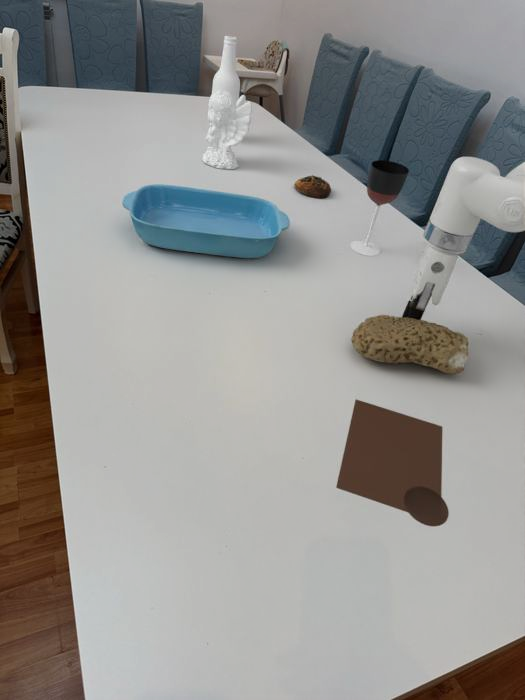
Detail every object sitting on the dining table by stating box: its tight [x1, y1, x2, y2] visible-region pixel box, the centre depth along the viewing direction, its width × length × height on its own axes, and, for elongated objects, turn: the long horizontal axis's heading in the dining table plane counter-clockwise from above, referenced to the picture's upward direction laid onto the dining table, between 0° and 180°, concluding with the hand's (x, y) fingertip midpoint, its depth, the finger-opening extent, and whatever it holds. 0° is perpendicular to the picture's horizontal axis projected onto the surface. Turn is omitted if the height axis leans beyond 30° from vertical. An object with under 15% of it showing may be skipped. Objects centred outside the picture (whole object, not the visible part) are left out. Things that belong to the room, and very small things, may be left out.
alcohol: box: [208, 35, 241, 129], centre depth 160 cm, size 9×9×30 cm
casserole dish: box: [122, 183, 291, 259], centre depth 112 cm, size 37×22×7 cm, turn 93°
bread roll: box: [293, 174, 332, 199], centre depth 144 cm, size 11×11×5 cm
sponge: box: [350, 314, 469, 375], centre depth 88 cm, size 13×8×20 cm
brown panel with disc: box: [335, 398, 449, 527], centre depth 72 cm, size 19×15×1 cm
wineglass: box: [349, 159, 410, 257], centre depth 116 cm, size 8×9×20 cm
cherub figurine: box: [201, 91, 253, 170], centre depth 147 cm, size 13×12×20 cm
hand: (409, 321), depth 95 cm, fingers closed
